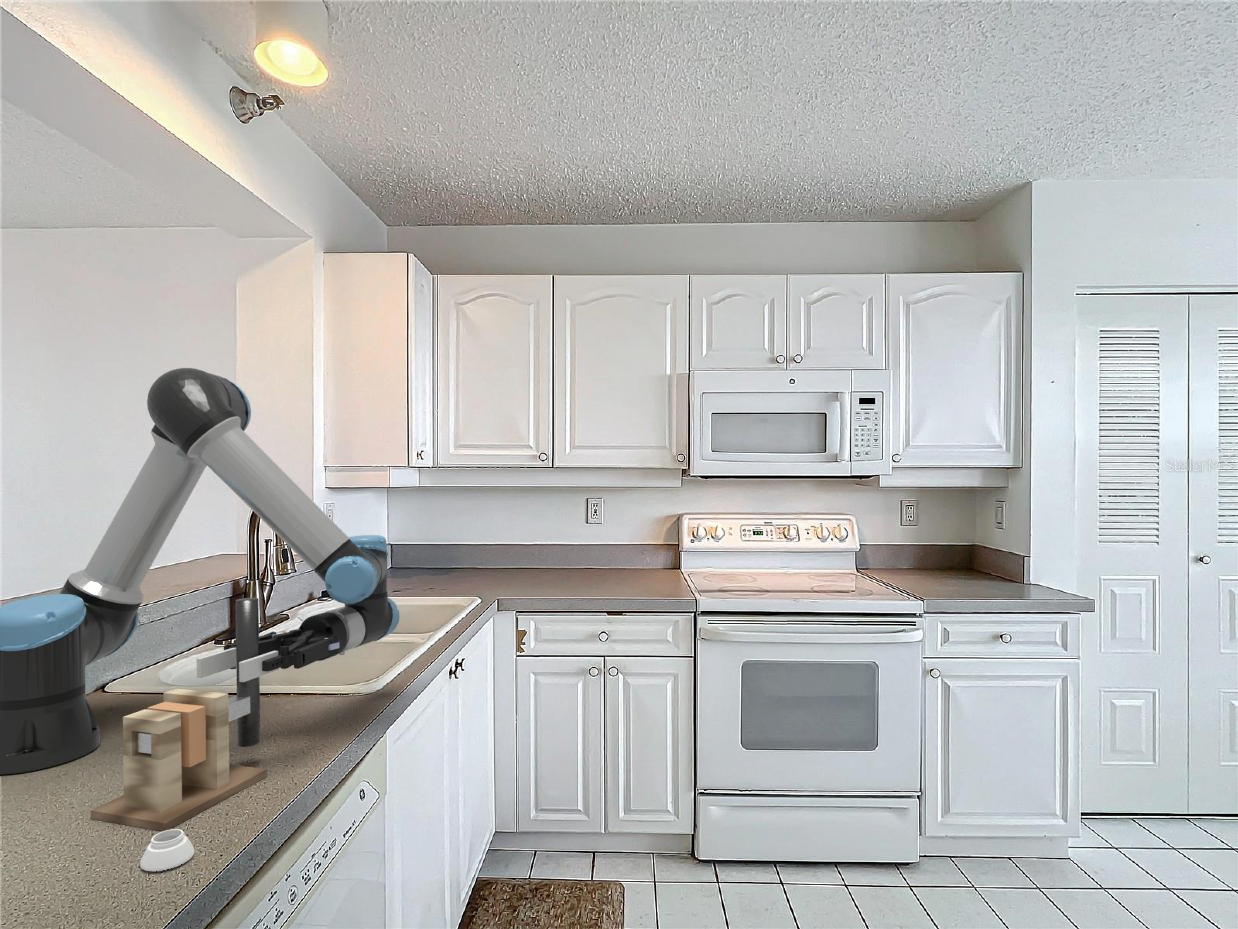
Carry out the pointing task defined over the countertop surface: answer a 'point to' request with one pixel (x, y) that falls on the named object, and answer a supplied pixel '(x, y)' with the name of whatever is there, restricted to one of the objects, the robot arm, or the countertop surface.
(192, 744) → the spacer
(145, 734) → the crank handle
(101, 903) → the countertop surface
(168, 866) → the lidless jar
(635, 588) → the countertop surface
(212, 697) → the bearing stand
